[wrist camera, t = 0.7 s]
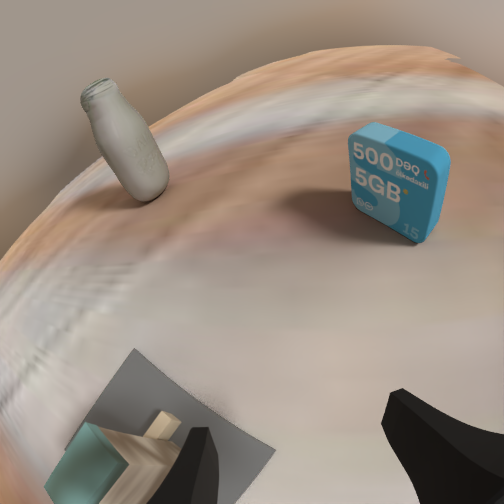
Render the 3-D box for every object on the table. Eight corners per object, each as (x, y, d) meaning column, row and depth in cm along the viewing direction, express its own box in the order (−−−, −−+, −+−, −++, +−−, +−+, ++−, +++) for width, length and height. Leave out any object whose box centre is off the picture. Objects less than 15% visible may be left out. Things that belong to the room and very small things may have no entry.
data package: (351, 206, 36) (345, 130, 28) (368, 191, 38) (366, 118, 29) (422, 248, 29) (440, 166, 20) (436, 228, 30) (452, 150, 21)
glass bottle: (151, 181, 60) (96, 81, 39) (184, 177, 55) (127, 62, 35) (128, 210, 54) (61, 104, 34) (161, 208, 50) (89, 83, 30)
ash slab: (201, 464, 19) (117, 463, 11) (157, 516, 16) (69, 525, 7) (172, 440, 22) (85, 421, 13) (132, 491, 18) (43, 486, 9)
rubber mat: (276, 450, 20) (270, 450, 18) (171, 564, 11) (159, 569, 9) (136, 349, 31) (124, 341, 29) (67, 449, 22) (53, 446, 20)
